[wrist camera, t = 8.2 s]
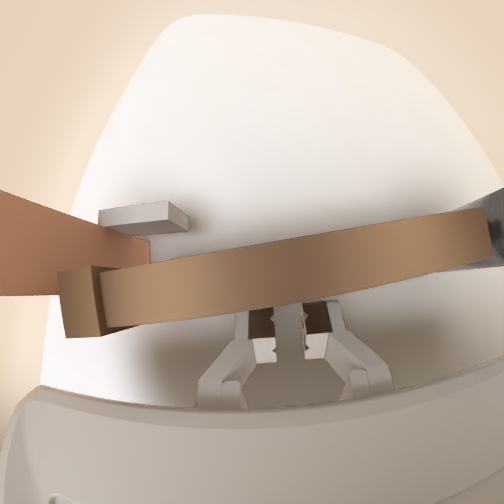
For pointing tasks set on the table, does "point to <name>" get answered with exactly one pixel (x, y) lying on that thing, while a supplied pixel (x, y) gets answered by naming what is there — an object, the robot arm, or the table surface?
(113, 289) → the gate
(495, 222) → the hinge post
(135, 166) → the table surface
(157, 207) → the latch post
